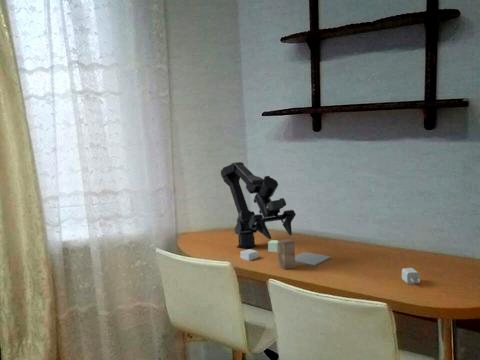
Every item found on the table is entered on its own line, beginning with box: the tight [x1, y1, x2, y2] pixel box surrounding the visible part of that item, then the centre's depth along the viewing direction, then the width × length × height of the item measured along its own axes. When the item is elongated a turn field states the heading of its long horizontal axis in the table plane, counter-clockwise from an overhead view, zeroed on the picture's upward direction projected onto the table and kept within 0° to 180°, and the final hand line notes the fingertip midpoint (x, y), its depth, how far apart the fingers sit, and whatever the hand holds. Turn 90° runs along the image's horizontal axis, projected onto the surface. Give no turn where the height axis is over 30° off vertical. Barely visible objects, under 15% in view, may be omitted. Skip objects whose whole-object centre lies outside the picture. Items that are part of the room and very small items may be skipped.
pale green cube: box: [267, 239, 279, 253], centre depth 187 cm, size 4×4×4 cm
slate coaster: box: [295, 251, 332, 267], centre depth 172 cm, size 12×12×1 cm
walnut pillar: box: [277, 238, 296, 270], centre depth 164 cm, size 4×4×10 cm
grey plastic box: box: [240, 248, 259, 261], centre depth 178 cm, size 5×5×3 cm
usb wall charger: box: [401, 267, 421, 285], centre depth 143 cm, size 4×7×4 cm, turn 2°
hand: (280, 236), depth 167 cm, fingers open, 9 cm apart
